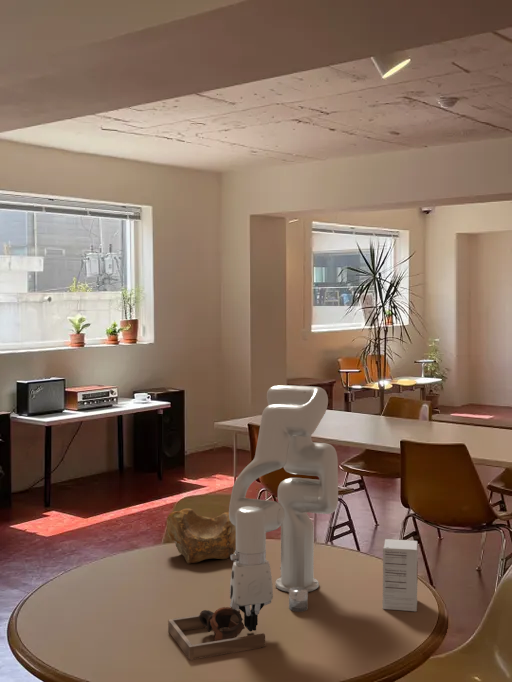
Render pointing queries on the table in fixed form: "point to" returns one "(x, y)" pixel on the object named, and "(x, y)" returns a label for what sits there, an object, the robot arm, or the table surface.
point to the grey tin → (298, 599)
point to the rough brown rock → (201, 535)
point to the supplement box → (400, 574)
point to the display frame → (210, 647)
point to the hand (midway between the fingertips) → (250, 628)
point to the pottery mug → (222, 622)
